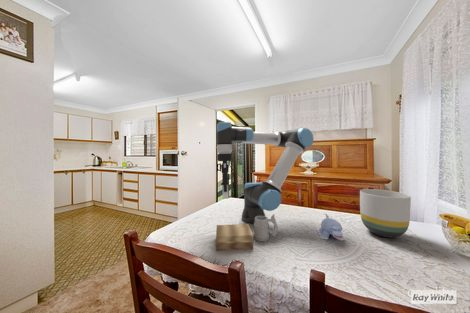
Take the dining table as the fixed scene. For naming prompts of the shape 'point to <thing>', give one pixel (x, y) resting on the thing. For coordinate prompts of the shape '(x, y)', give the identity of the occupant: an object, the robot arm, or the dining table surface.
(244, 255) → the dining table surface
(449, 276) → the dining table surface
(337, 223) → the light blue rounded figure
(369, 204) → the planter
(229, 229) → the wooden block
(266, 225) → the mug
